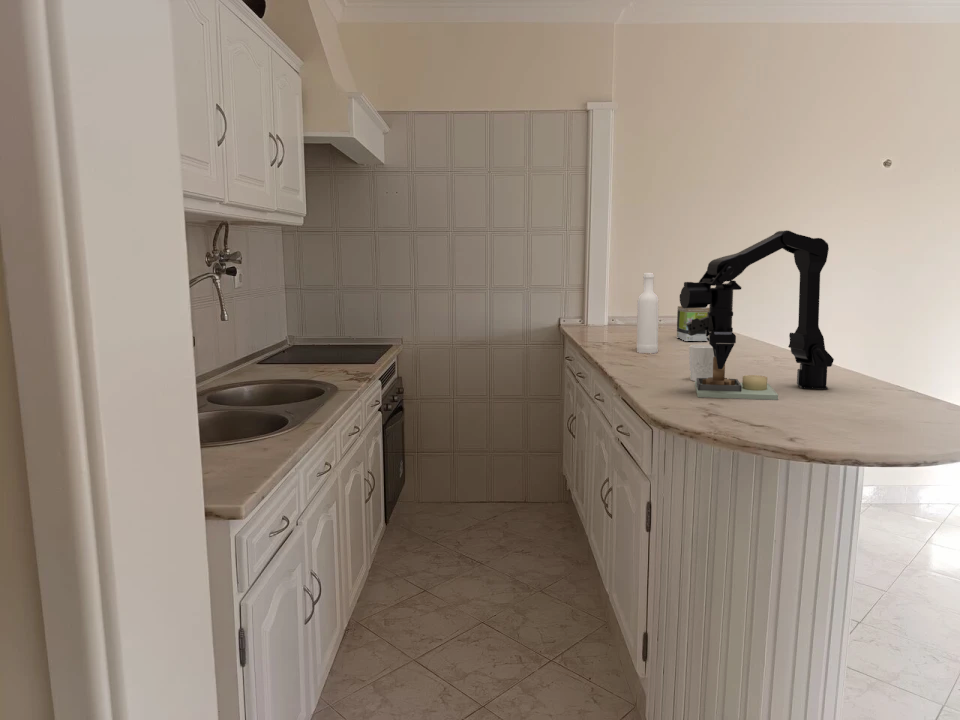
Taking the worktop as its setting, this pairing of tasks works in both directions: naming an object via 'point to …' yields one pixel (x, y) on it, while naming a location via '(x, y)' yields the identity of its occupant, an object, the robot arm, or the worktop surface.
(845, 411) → the worktop surface
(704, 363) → the white cup
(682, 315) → the tea box
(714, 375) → the planet gear
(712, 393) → the carrier plate
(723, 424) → the worktop surface
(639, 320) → the bottle
